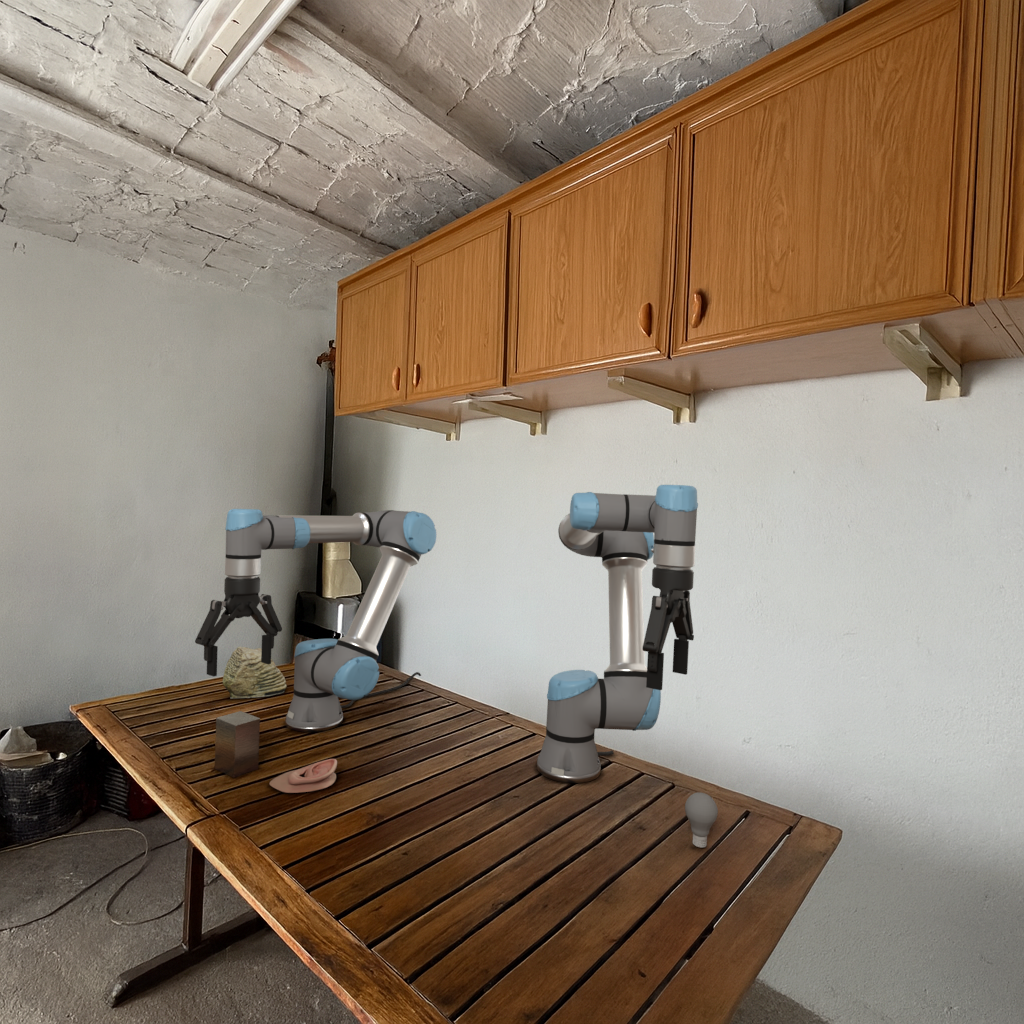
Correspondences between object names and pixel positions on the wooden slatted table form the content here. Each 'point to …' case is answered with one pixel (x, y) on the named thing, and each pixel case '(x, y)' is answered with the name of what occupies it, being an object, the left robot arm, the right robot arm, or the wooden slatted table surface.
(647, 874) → the wooden slatted table surface
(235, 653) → the fossil
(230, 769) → the block
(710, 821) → the light bulb
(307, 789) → the anatomical model
